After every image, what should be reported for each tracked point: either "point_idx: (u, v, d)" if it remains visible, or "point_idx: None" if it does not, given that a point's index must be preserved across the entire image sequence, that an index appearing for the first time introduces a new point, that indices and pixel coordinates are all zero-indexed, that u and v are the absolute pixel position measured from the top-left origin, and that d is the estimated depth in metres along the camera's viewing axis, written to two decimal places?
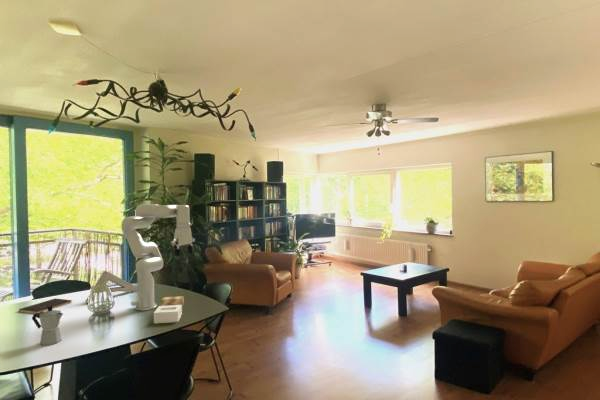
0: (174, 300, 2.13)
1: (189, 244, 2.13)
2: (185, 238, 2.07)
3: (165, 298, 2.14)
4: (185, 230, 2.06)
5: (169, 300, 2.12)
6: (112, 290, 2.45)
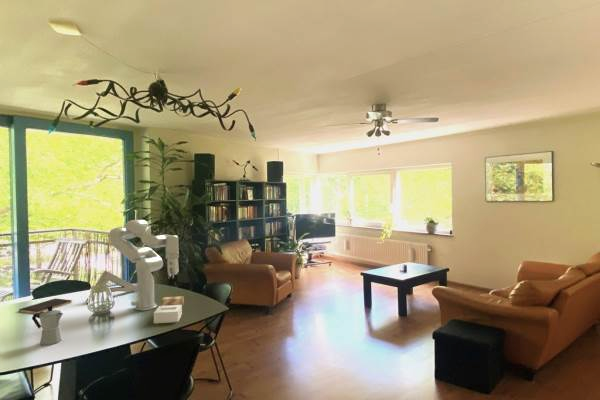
0: (174, 300, 2.13)
1: (172, 276, 2.09)
2: None
3: (165, 298, 2.14)
4: None
5: (169, 300, 2.12)
6: (112, 290, 2.45)
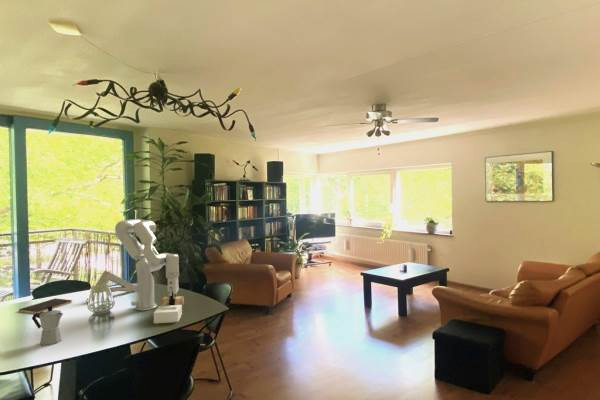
0: None
1: None
2: None
3: (165, 298, 2.14)
4: None
5: None
6: (113, 290, 2.45)
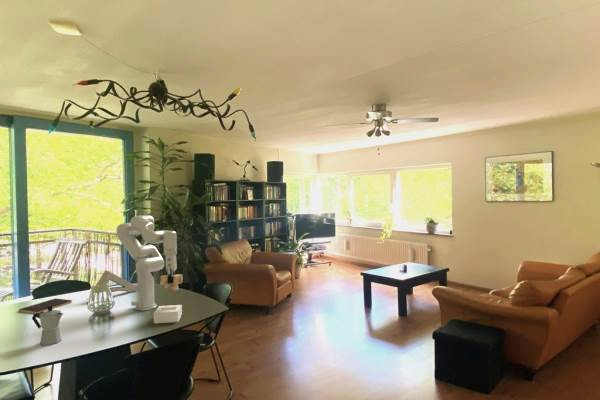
0: (173, 278, 2.07)
1: (171, 274, 2.06)
2: None
3: (163, 276, 2.08)
4: None
5: None
6: (113, 290, 2.46)
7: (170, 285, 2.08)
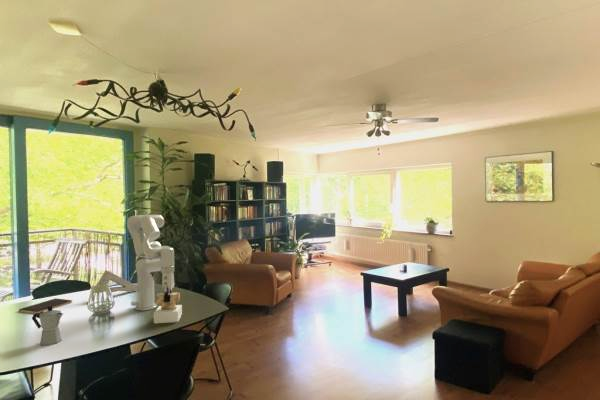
0: None
1: None
2: None
3: (160, 294, 2.01)
4: None
5: None
6: (113, 290, 2.46)
7: (167, 304, 2.00)
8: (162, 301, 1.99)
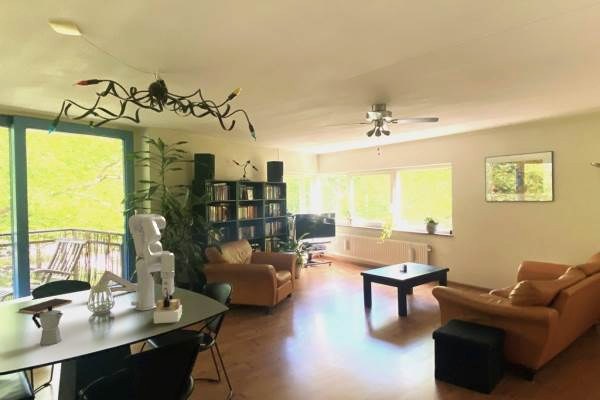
0: None
1: None
2: None
3: (160, 301, 2.01)
4: None
5: None
6: (114, 290, 2.46)
7: None
8: (162, 308, 1.99)
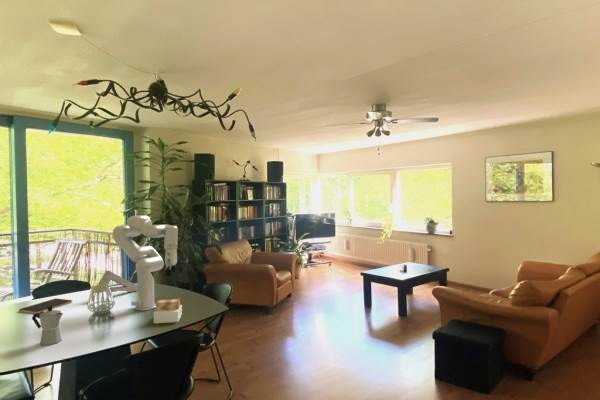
0: (169, 303, 2.00)
1: (169, 267, 2.07)
2: None
3: (160, 301, 2.01)
4: None
5: (164, 303, 1.99)
6: (114, 289, 2.46)
7: None
8: (162, 308, 1.99)
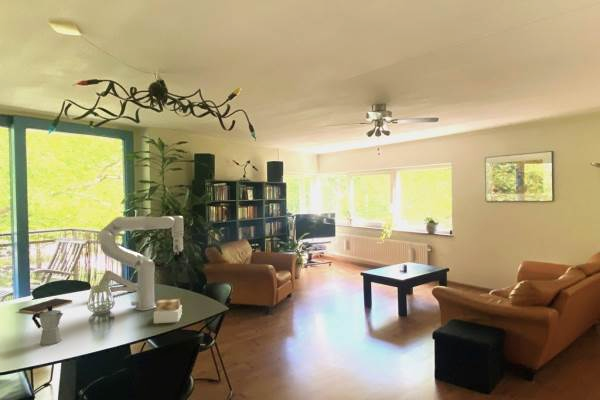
0: (169, 303, 2.00)
1: None
2: None
3: (160, 301, 2.01)
4: None
5: (164, 303, 1.99)
6: (115, 289, 2.47)
7: None
8: (162, 308, 1.99)
